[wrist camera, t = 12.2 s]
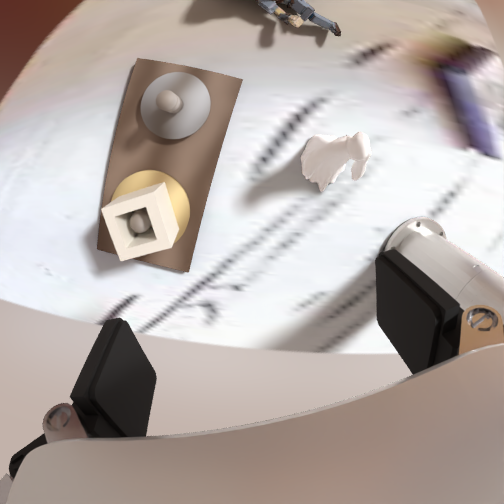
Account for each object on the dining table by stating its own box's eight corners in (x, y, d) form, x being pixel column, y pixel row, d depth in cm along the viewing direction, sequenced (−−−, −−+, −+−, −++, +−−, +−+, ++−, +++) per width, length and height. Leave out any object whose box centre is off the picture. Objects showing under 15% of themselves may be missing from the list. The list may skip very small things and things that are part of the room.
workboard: (242, 81, 31) (247, 68, 24) (189, 268, 40) (183, 298, 33) (139, 60, 29) (120, 44, 22) (100, 246, 38) (77, 270, 30)
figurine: (351, 132, 35) (400, 137, 24) (347, 192, 38) (393, 218, 27) (294, 128, 34) (326, 127, 23) (292, 191, 37) (321, 217, 26)
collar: (164, 181, 33) (153, 191, 28) (179, 229, 36) (171, 247, 30) (119, 196, 33) (101, 209, 28) (134, 241, 36) (120, 261, 30)
